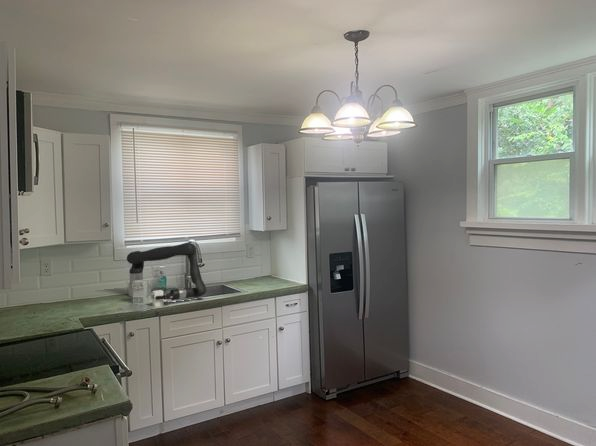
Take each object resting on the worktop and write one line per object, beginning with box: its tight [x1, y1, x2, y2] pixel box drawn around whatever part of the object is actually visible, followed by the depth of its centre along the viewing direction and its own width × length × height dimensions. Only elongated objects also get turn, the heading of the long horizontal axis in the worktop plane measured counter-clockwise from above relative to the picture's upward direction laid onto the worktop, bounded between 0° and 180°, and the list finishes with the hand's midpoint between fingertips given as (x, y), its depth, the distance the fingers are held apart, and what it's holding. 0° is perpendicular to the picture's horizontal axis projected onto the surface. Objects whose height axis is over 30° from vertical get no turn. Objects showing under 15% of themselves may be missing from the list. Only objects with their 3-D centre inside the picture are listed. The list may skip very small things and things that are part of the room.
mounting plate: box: [118, 303, 157, 312], centre depth 295 cm, size 20×12×1 cm, turn 68°
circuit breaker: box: [132, 279, 152, 305], centre depth 315 cm, size 8×14×15 cm, turn 174°
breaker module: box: [150, 289, 165, 308], centre depth 301 cm, size 4×7×10 cm, turn 128°
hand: (154, 297), depth 300 cm, fingers open, 5 cm apart
